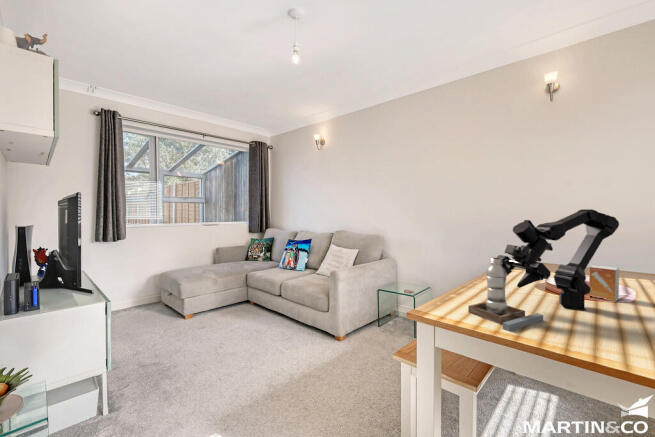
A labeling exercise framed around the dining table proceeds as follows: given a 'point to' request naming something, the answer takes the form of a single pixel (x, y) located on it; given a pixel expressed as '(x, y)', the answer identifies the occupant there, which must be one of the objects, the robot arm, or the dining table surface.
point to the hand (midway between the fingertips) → (507, 283)
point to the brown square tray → (509, 315)
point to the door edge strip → (522, 321)
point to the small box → (604, 282)
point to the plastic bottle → (496, 287)
